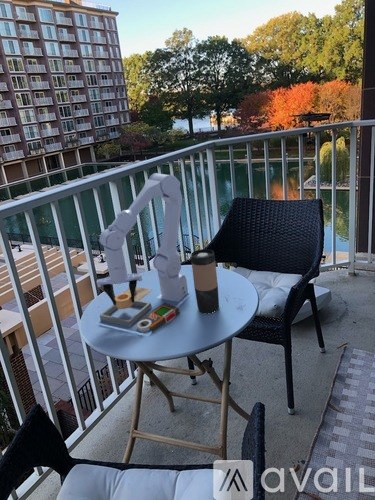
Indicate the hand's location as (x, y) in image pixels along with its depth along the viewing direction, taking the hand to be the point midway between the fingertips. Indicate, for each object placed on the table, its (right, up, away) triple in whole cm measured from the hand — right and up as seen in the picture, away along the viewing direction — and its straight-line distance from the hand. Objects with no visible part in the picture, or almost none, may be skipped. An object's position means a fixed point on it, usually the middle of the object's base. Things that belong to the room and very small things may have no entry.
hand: (124, 302), depth 123 cm
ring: (0, -1, 0) cm, 1 cm away
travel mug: (+28, -2, 0) cm, 29 cm away
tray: (+1, -5, +2) cm, 5 cm away
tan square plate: (+1, 0, +15) cm, 15 cm away
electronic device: (+12, -6, -4) cm, 14 cm away
